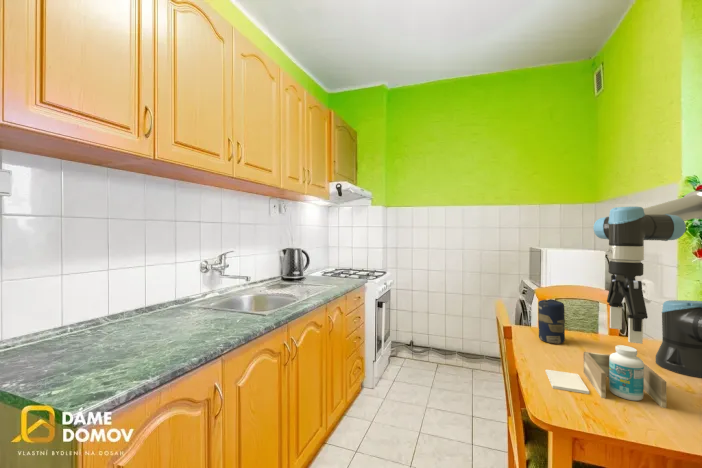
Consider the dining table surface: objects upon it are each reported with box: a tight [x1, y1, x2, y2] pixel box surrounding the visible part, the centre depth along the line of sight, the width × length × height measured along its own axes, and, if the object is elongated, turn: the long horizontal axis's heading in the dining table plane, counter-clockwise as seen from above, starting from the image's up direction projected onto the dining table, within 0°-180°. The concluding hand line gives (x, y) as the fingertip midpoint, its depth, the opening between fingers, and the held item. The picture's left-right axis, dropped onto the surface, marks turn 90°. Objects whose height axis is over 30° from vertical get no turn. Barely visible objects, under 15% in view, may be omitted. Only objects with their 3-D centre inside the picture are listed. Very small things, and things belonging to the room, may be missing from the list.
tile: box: [545, 369, 590, 395], centre depth 98 cm, size 9×12×1 cm
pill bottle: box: [608, 344, 645, 402], centre depth 90 cm, size 8×7×14 cm
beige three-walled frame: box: [583, 351, 667, 409], centre depth 93 cm, size 14×17×7 cm
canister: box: [537, 298, 566, 344], centre depth 134 cm, size 10×10×18 cm
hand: (624, 335), depth 90 cm, fingers open, 13 cm apart
